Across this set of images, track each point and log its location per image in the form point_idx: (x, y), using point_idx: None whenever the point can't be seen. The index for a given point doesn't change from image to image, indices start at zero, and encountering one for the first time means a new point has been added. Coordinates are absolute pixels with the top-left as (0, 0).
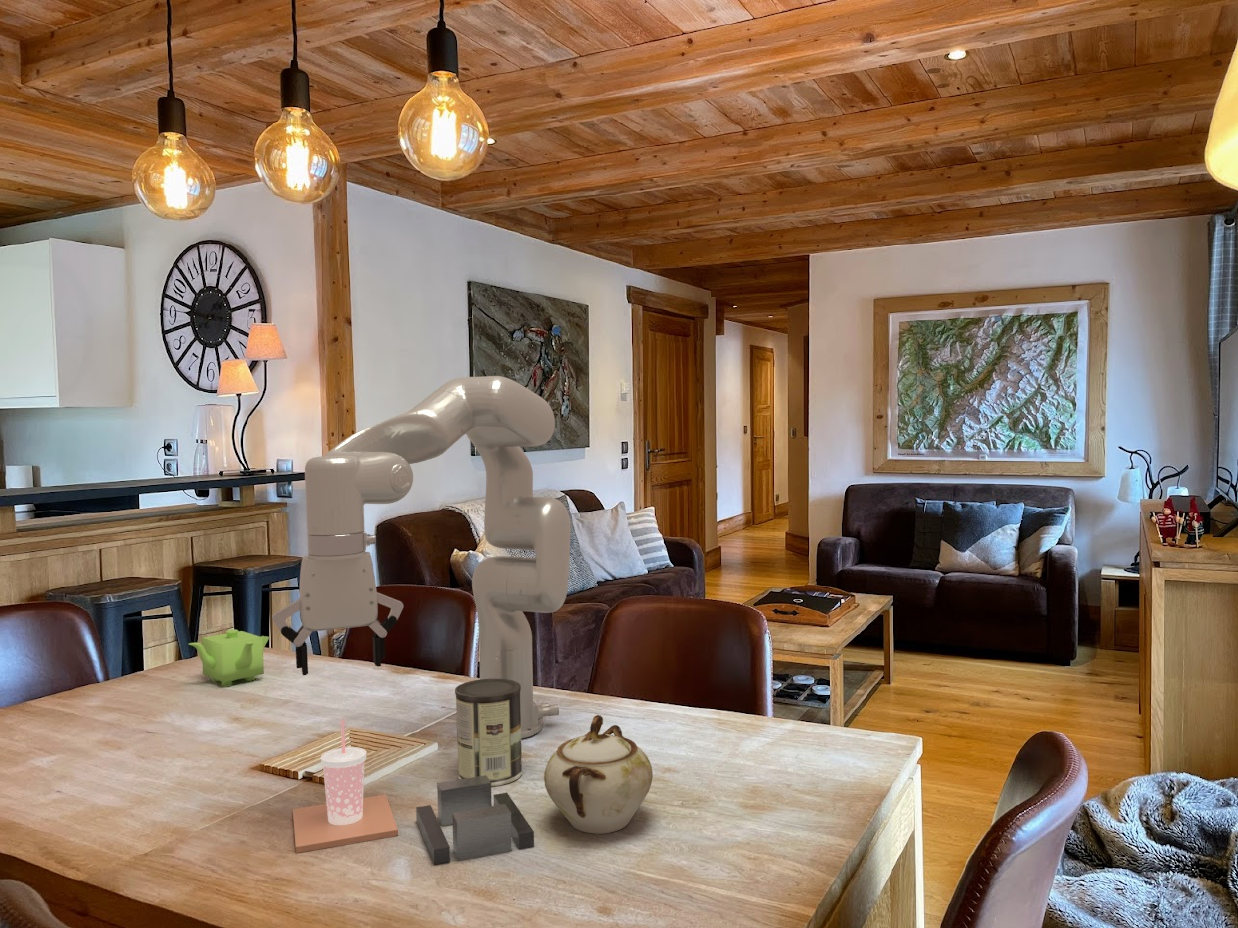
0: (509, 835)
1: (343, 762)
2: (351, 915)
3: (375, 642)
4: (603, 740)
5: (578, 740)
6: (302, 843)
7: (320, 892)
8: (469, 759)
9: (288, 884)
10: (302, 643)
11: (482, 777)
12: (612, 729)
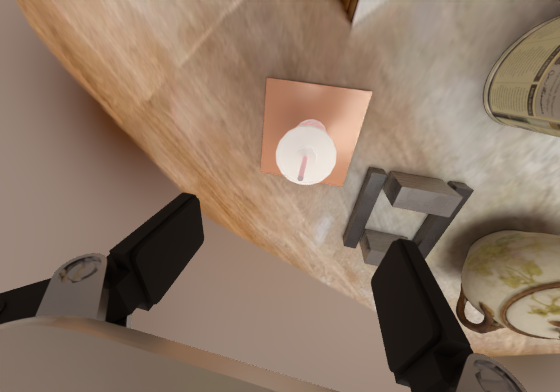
0: None
1: (298, 183)
2: (280, 256)
3: (389, 361)
4: None
5: (556, 314)
6: (265, 168)
7: (269, 228)
8: (512, 106)
9: (253, 209)
10: (130, 315)
11: (454, 200)
12: None
